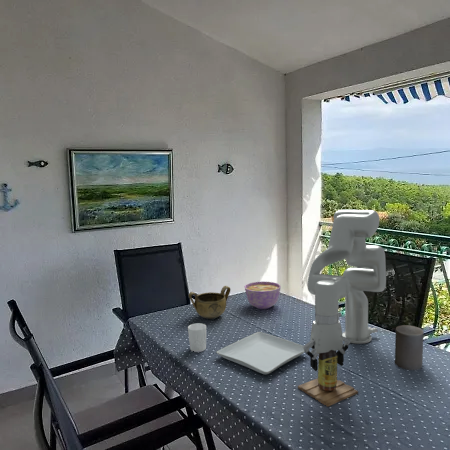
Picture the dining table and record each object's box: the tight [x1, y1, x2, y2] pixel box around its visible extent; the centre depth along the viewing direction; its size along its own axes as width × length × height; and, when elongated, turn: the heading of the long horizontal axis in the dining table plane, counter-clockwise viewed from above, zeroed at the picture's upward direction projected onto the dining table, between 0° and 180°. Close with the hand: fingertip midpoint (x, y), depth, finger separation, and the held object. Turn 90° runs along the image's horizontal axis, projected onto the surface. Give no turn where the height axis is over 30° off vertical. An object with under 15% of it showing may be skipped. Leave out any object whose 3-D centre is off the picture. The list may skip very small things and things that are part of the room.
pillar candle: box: [394, 324, 425, 371], centre depth 156 cm, size 10×10×15 cm
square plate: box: [215, 331, 305, 375], centre depth 168 cm, size 27×27×4 cm
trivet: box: [297, 377, 359, 407], centre depth 141 cm, size 14×14×1 cm
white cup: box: [187, 322, 207, 353], centre depth 178 cm, size 8×8×10 cm
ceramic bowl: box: [188, 285, 231, 320], centre depth 216 cm, size 22×17×15 cm
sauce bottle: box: [317, 350, 338, 391], centre depth 140 cm, size 6×6×20 cm
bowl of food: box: [244, 281, 281, 310], centre depth 229 cm, size 20×20×12 cm
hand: (327, 366), depth 140 cm, fingers open, 9 cm apart
